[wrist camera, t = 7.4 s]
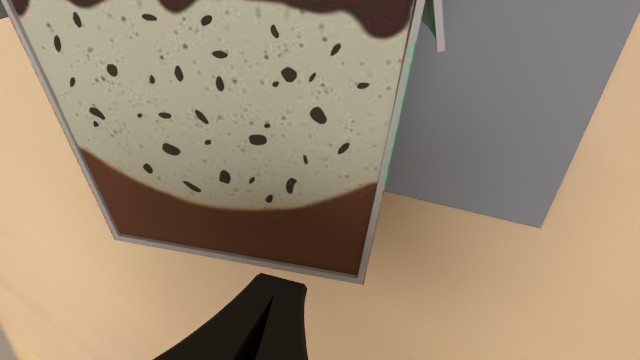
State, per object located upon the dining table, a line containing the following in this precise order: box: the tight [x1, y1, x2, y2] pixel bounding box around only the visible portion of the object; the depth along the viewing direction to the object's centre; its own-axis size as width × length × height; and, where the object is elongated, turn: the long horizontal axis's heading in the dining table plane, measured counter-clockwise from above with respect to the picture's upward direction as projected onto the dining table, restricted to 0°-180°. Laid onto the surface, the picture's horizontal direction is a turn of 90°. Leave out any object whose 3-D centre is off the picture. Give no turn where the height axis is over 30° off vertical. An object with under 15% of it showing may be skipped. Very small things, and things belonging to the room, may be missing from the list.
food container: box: [0, 0, 445, 284], centre depth 16 cm, size 12×6×10 cm
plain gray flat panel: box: [384, 0, 640, 228], centre depth 17 cm, size 13×17×1 cm
